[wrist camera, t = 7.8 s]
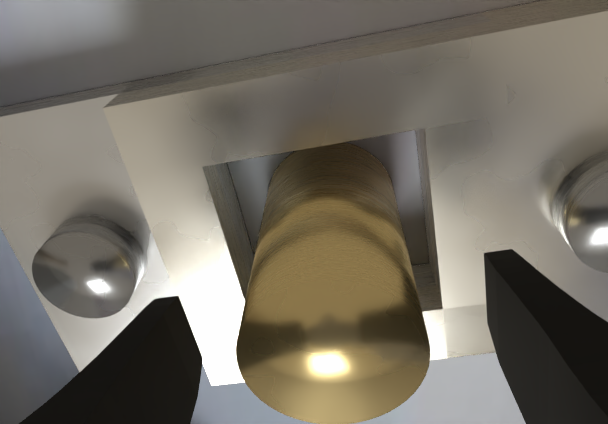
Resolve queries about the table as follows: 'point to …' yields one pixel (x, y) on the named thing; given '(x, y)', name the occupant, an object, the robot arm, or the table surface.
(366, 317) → the brass pin
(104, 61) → the table surface
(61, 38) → the table surface
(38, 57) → the table surface
